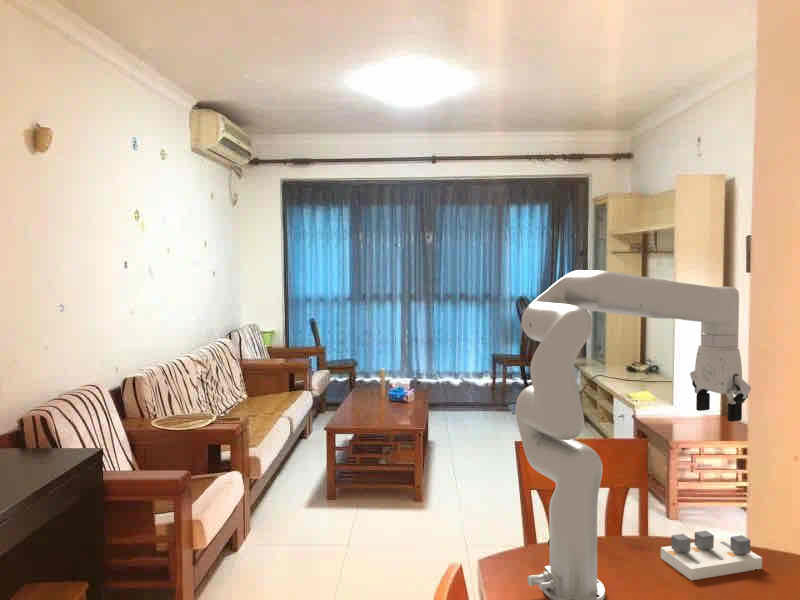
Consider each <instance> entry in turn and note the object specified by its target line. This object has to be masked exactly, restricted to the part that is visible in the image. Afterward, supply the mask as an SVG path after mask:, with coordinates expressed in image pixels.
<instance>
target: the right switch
mask: <svg viewBox="0 0 800 600" xmlns="http://www.w3.org/2000/svg"><path fill="white" fill-rule="evenodd" d="M730 539H731V548H730V550H731V551H733V552H735V553H736V554H738V555H742V554H748V553H750V551H751V539H749V538H747V537H746V536H744V535H742V534H741V535H734V536H730Z"/></svg>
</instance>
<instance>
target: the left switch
mask: <svg viewBox="0 0 800 600" xmlns="http://www.w3.org/2000/svg"><path fill="white" fill-rule="evenodd" d="M690 543H691V537H688V536H687V535H686V534H684V533H680V534H679V533H678V534H673V535H671V545H670V546H671V548H672V549H673V550H675V551H676V552H678V553H684V552H690Z"/></svg>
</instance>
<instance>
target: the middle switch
mask: <svg viewBox="0 0 800 600" xmlns="http://www.w3.org/2000/svg"><path fill="white" fill-rule="evenodd" d="M714 538H715V537H714V534H712V533H710V532H709V531H707V530H702V531H695V532H694V542H695V546H697V547H698V548H700V549H701V550H705V549H711V548H713V546H714Z"/></svg>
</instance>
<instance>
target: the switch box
mask: <svg viewBox="0 0 800 600" xmlns="http://www.w3.org/2000/svg"><path fill="white" fill-rule="evenodd" d="M730 548H731V537H730V538H729V537H720V538H715V539H714V546H713V548H711V549H705V550H701V549H700V548H698V547H697V546H695V541H694V542H690V552H684V553H678V552H676V551H675V550H673V549H672V548H671V545H669V546H668V545H667V546H661V547H660V558H661V559H662V560H663V561H664V562H665V563H666V564H668V565H670V567H672V568H674V569H675V570H676V571H678V572H679V573H680V574H682V575H684V577H685V578H687V579H688V580H690V581H695V580H701V579H702V580H703V579H706V578H707V579H708V578H714V577H715V578H716V577H719V576H727V575H731V574H738V573H743V572H744V573H745V572H751V571H755V569H757V570H762V569H763V557H762V556H760V555H758V554H756V553H755V552H753V551H752V550H750V553H748V554H742V555H738V554H736V553H735V552H733V551H731V550H730ZM750 570H751V571H750Z"/></svg>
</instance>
